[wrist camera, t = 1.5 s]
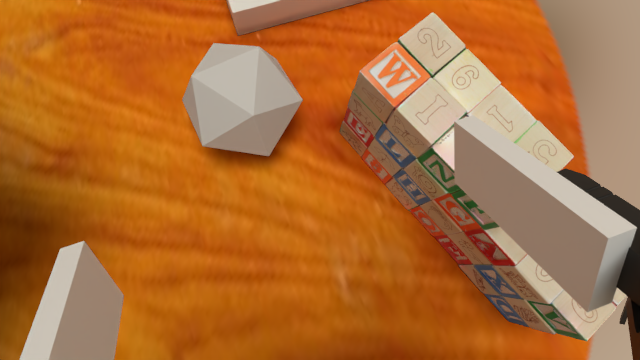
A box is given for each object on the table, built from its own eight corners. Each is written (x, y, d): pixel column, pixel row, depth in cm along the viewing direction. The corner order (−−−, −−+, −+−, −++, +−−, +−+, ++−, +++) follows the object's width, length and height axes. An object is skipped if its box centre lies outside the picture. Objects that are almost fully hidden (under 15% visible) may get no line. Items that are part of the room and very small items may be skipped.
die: (290, 174, 36) (335, 85, 29) (191, 187, 31) (220, 83, 24) (254, 110, 40) (287, 19, 33) (161, 112, 35) (180, 6, 28)
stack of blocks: (557, 271, 35) (695, 277, 23) (507, 323, 34) (625, 357, 22) (387, 88, 37) (434, 7, 25) (336, 131, 36) (358, 67, 24)
